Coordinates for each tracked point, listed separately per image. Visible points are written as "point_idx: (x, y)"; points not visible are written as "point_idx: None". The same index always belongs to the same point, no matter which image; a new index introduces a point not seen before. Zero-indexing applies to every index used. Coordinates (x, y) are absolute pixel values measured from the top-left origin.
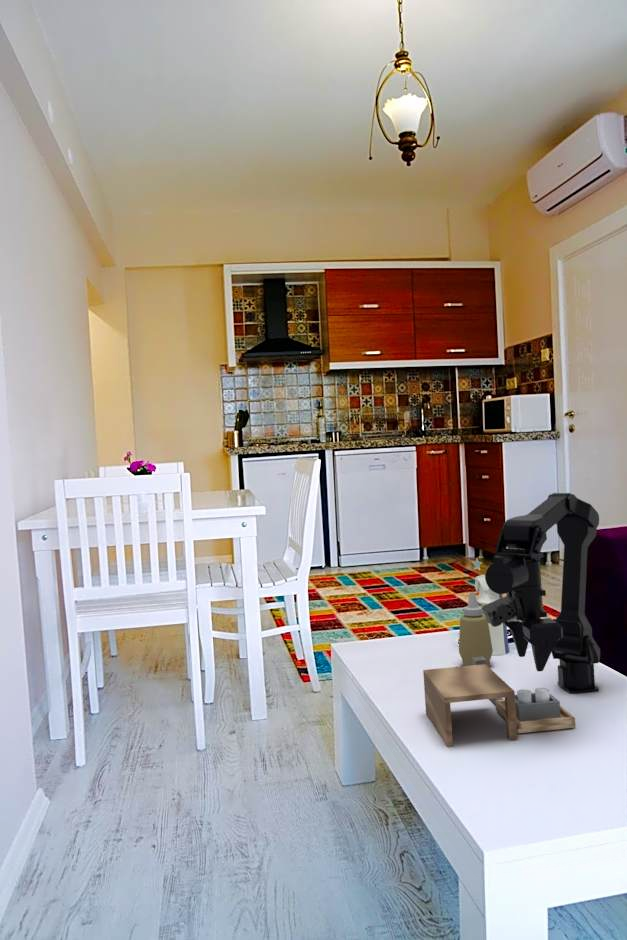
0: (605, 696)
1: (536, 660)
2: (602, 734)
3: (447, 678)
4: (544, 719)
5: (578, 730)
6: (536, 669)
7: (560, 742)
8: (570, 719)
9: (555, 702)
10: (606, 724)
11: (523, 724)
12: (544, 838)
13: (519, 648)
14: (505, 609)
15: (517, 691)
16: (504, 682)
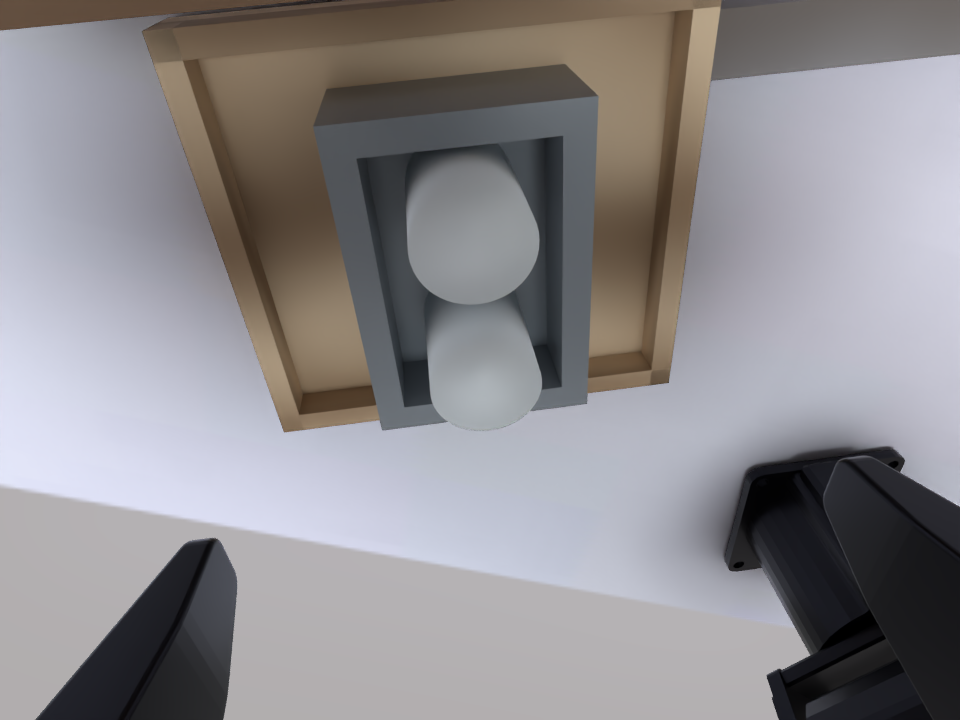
0: (660, 566)
1: (52, 708)
2: (227, 474)
3: None
4: None
5: None
6: (200, 548)
7: (81, 270)
8: (276, 406)
9: (377, 405)
10: (350, 510)
11: (164, 86)
12: None
13: (919, 557)
14: None
15: (492, 189)
16: (157, 2)
